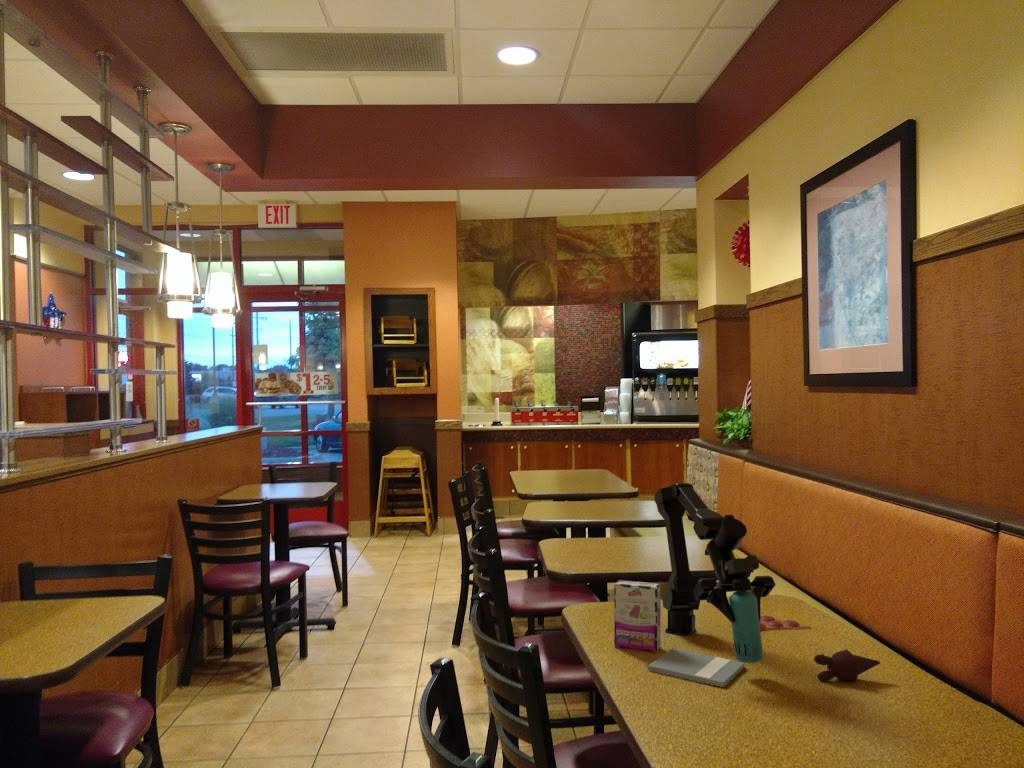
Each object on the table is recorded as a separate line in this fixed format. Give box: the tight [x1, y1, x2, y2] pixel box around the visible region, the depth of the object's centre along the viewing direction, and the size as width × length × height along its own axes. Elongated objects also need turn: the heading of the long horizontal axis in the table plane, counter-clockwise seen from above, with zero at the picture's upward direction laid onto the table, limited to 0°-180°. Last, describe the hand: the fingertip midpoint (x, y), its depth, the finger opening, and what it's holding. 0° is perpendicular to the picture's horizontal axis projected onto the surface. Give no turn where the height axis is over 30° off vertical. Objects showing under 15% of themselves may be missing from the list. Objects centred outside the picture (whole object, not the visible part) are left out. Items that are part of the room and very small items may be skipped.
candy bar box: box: [613, 579, 662, 653], centre depth 197 cm, size 11×5×16 cm, turn 68°
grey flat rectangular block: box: [647, 647, 746, 688], centre depth 182 cm, size 18×15×1 cm
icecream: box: [813, 649, 881, 682], centre depth 176 cm, size 7×7×15 cm
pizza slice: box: [759, 615, 812, 631], centre depth 217 cm, size 18×2×20 cm
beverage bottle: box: [728, 577, 764, 664], centre depth 177 cm, size 6×7×20 cm
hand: (746, 621), depth 176 cm, fingers closed on beverage bottle, 6 cm apart
